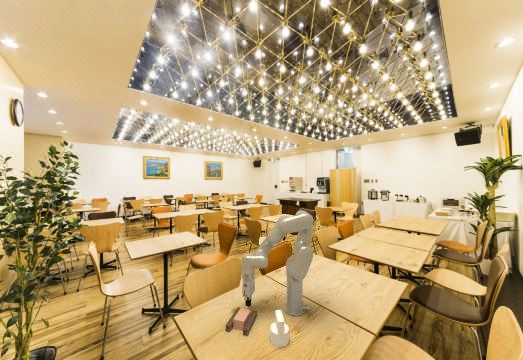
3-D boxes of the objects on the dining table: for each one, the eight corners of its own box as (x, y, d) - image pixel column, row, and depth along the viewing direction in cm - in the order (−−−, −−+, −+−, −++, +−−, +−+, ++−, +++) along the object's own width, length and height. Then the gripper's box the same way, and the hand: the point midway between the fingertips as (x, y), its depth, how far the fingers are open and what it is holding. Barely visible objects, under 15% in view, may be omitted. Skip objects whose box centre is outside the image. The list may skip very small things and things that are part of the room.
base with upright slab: (269, 333, 107) (269, 310, 107) (286, 332, 108) (286, 309, 108) (271, 348, 98) (271, 322, 98) (290, 346, 99) (290, 321, 99)
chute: (257, 315, 121) (257, 310, 121) (247, 336, 106) (247, 330, 106) (237, 312, 125) (237, 307, 125) (225, 331, 109) (225, 325, 109)
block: (250, 318, 119) (250, 310, 119) (243, 331, 110) (243, 321, 110) (240, 316, 121) (240, 308, 121) (233, 328, 111) (233, 319, 111)
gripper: (250, 281, 117) (250, 314, 117) (258, 270, 131) (258, 299, 131) (237, 280, 119) (237, 312, 119) (246, 269, 133) (246, 297, 133)
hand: (248, 305), depth 125 cm, fingers closed
